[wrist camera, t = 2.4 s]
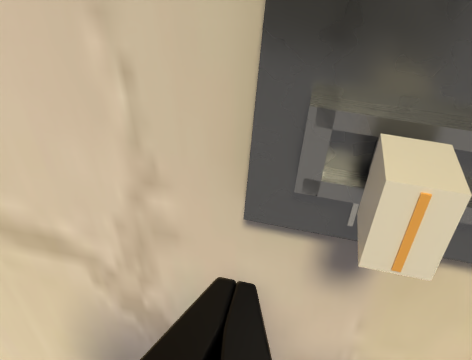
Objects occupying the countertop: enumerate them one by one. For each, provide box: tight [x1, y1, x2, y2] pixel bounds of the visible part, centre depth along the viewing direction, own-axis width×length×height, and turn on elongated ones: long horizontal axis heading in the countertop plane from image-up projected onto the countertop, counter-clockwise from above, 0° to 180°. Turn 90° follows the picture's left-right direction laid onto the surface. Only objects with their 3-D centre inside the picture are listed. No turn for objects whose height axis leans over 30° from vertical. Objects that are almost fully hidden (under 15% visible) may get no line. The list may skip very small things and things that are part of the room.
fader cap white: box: [357, 134, 472, 281], centre depth 16 cm, size 2×4×5 cm, turn 176°
